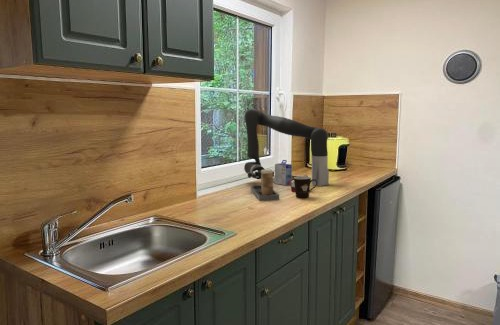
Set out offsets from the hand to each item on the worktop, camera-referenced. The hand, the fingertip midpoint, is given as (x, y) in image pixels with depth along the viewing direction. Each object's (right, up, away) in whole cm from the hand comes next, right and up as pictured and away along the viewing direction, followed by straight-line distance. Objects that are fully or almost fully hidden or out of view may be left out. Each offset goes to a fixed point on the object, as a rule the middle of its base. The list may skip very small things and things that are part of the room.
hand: (263, 176), depth 197 cm
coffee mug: (+21, -10, -9) cm, 25 cm away
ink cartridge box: (+13, -6, +28) cm, 31 cm away
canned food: (+21, -9, +7) cm, 23 cm away
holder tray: (+1, -10, -1) cm, 10 cm away
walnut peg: (+2, -10, -9) cm, 14 cm away
